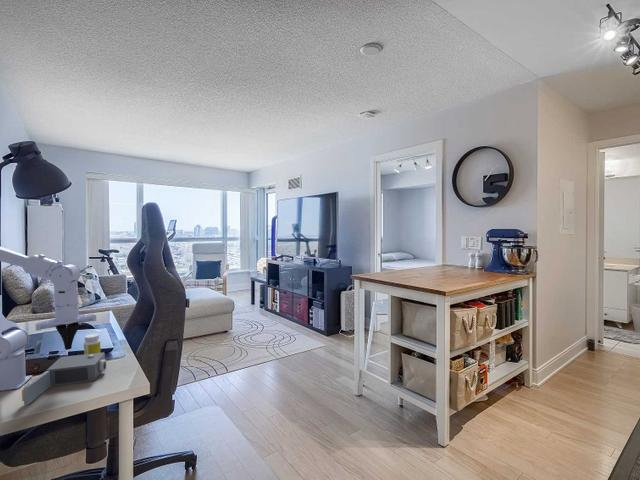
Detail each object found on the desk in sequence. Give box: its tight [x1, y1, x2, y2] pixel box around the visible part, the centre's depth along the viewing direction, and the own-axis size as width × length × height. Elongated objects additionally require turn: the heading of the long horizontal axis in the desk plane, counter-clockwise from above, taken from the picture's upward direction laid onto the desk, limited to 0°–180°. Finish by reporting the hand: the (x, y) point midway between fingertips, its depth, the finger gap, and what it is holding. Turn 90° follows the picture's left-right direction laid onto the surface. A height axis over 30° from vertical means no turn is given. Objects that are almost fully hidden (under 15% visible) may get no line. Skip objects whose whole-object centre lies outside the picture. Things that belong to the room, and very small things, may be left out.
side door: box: [21, 370, 52, 406], centre depth 91 cm, size 10×2×4 cm, turn 13°
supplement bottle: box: [83, 333, 102, 355], centre depth 116 cm, size 5×5×8 cm
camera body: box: [46, 351, 107, 387], centre depth 103 cm, size 13×10×6 cm
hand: (68, 348), depth 101 cm, fingers closed
